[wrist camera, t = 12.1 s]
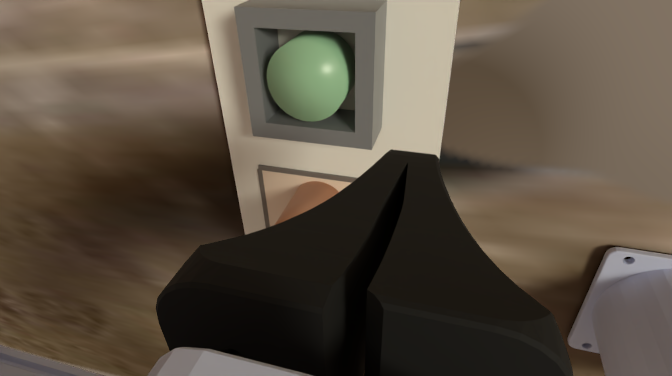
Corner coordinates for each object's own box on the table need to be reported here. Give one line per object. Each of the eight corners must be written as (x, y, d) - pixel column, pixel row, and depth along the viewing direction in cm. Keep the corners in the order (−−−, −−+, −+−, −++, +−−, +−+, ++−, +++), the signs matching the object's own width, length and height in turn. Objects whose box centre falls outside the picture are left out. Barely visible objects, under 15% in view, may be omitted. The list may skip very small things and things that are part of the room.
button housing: (387, -1, 18) (375, 12, 16) (381, 127, 22) (371, 150, 20) (258, -4, 20) (233, 6, 18) (272, 116, 23) (252, 136, 21)
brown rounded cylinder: (346, 230, 26) (315, 305, 21) (295, 221, 27) (254, 292, 22) (347, 184, 24) (312, 256, 19) (292, 176, 25) (246, 243, 20)
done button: (357, 30, 19) (344, 43, 17) (357, 106, 21) (345, 125, 19) (281, 26, 20) (262, 38, 18) (288, 99, 22) (271, 117, 20)
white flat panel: (462, -14, 18) (461, -11, 17) (415, 346, 31) (413, 354, 31) (205, -20, 21) (197, -17, 20) (263, 312, 34) (259, 319, 33)
